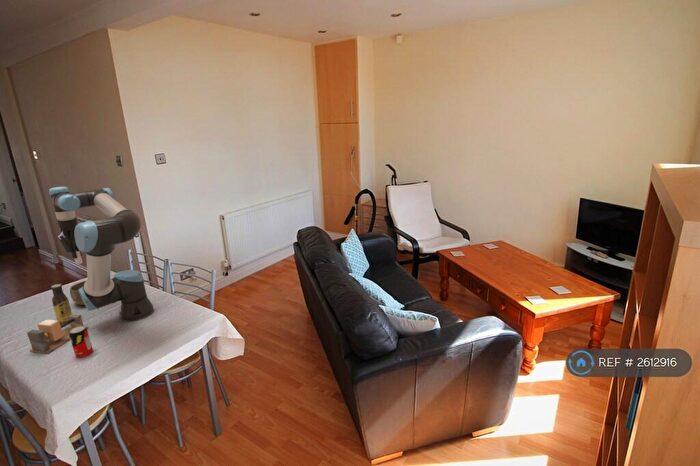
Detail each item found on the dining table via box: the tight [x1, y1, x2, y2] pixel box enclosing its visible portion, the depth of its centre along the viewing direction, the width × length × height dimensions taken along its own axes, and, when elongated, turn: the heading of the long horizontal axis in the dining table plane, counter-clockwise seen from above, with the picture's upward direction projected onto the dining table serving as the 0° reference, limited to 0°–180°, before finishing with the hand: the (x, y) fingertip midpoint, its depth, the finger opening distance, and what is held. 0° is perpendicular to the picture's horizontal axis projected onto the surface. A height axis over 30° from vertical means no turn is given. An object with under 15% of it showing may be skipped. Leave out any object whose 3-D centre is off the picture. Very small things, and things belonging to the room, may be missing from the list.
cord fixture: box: [26, 313, 89, 355], centre depth 166 cm, size 20×10×10 cm, turn 168°
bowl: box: [69, 280, 87, 306], centre depth 201 cm, size 17×18×10 cm
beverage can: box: [69, 325, 93, 358], centre depth 155 cm, size 6×6×12 cm
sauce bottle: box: [50, 283, 73, 325], centre depth 179 cm, size 6×6×20 cm
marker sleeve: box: [37, 319, 63, 341], centre depth 163 cm, size 7×4×8 cm, turn 78°
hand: (79, 263), depth 185 cm, fingers closed
